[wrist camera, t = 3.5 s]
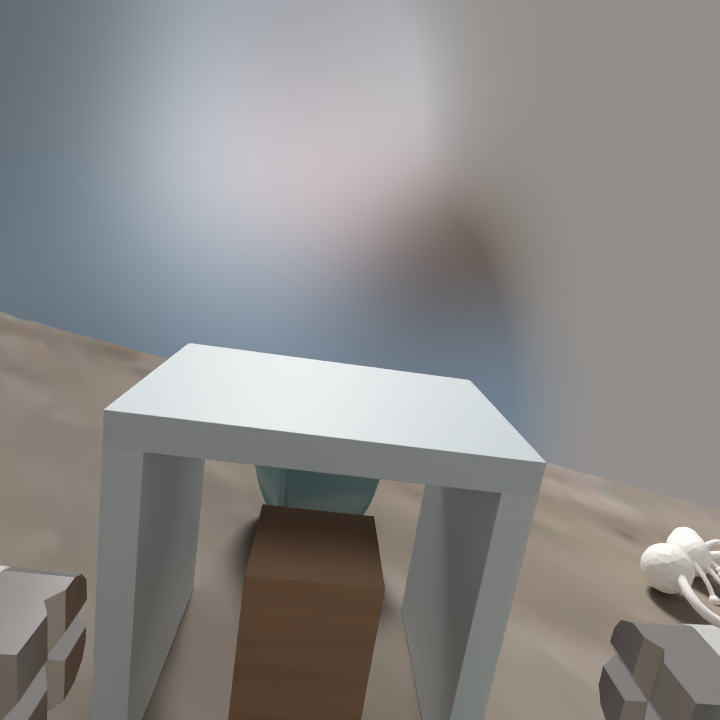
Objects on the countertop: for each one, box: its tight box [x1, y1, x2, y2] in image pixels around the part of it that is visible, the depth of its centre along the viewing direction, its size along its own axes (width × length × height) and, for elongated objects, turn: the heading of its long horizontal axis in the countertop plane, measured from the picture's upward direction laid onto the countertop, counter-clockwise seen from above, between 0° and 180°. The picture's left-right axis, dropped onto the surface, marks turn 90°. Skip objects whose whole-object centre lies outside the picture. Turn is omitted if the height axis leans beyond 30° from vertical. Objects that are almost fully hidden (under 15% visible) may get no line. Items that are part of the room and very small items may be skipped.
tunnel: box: [91, 343, 546, 720], centre depth 28 cm, size 12×17×16 cm
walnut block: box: [228, 504, 385, 720], centre depth 23 cm, size 5×5×12 cm
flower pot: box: [255, 465, 380, 515], centre depth 44 cm, size 9×9×9 cm
